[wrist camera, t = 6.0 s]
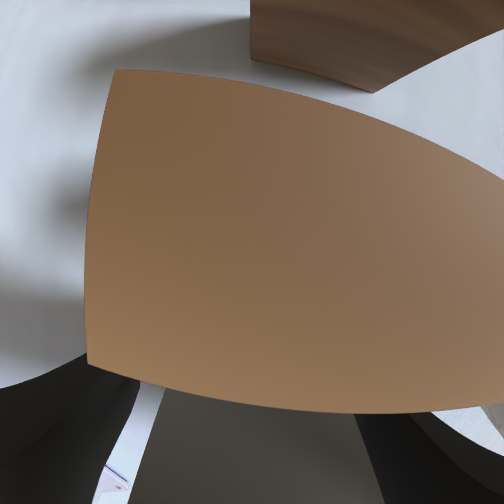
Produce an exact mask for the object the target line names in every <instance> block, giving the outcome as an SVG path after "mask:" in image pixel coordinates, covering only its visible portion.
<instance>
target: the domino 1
mask: <svg viewBox="0 0 504 504" xmlns="http://www.w3.org/2000/svg"><path fill="white" fill-rule="evenodd" d="M502 29H504V0H250V38H251V60H256V61H262V62H267V63H271V64H276V65H280V66H285V67H289V68H293V69H297V70H301V71H305V72H309V73H312V74H316V75H319V76H323V77H326V78H329V79H333V80H336V81H339V82H342V83H345V84H348V85H351V86H354V87H357V88H360V89H363V90H366V91H368V92H371V93H375V92H377V91H379V90H380V89H382V88H384V87H386V86H387V85H389V84H391V83H393V82H395V81H397V80H398V79H400V78H402V77H404V76H406V75H408V74H410V73H411V72H413V71H415V70H417V69H419V68H421V67H423V66H425V65H427V64H429V63H431V62H433V61H435V60H437V59H439V58H441V57H443V56H445V55H447V54H449V53H451V52H453V51H455V50H457V49H459V48H462V47H464V46H466V45H468V44H470V43H472V42H475V41H477V40H479V39H481V38H484V37H486V36H488V35H490V34H493V33H495V32H497V31H500V30H502Z"/></svg>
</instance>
